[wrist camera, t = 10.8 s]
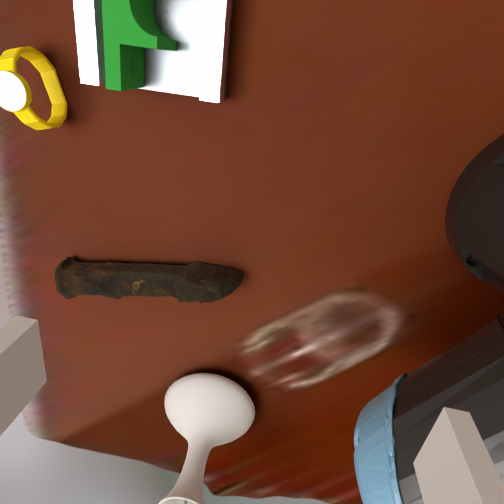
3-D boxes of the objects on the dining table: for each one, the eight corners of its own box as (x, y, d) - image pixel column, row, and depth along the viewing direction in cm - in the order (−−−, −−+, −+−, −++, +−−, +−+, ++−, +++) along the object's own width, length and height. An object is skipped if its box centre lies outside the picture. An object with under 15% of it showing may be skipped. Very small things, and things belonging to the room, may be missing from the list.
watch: (29, 54, 31) (-28, 45, 26) (58, 48, 31) (6, 38, 25) (54, 128, 34) (6, 134, 28) (81, 123, 33) (38, 129, 28)
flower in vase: (208, 437, 51) (141, 723, 29) (150, 387, 48) (24, 666, 26) (284, 403, 46) (272, 712, 24) (226, 344, 43) (151, 640, 21)
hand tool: (78, 283, 42) (54, 308, 38) (69, 252, 40) (43, 274, 36) (244, 293, 40) (238, 319, 36) (243, 260, 38) (237, 284, 34)
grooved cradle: (239, -69, 26) (232, -83, 23) (225, 99, 31) (218, 103, 28) (86, -88, 26) (64, -104, 24) (97, 81, 31) (80, 83, 29)
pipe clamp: (175, 91, 30) (156, 97, 26) (131, 85, 31) (105, 89, 27) (180, -86, 25) (157, -114, 21) (126, -93, 25) (94, -122, 21)
